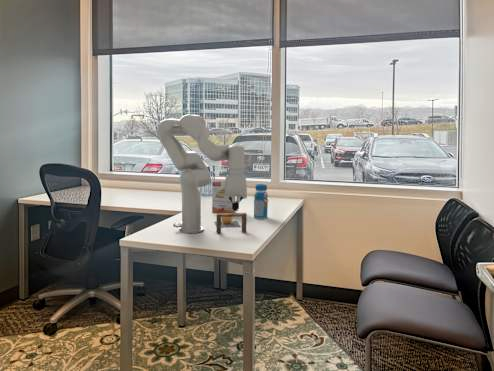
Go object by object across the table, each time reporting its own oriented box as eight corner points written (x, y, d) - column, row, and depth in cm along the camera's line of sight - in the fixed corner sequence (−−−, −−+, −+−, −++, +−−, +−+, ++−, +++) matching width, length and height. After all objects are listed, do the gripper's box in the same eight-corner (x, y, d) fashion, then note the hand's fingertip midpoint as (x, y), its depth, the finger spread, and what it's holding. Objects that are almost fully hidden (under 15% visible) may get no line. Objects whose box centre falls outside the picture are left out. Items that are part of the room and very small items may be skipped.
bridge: (217, 233, 195) (217, 214, 194) (216, 232, 198) (216, 213, 197) (246, 232, 198) (246, 214, 197) (245, 231, 201) (245, 212, 200)
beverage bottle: (255, 219, 227) (255, 185, 225) (252, 216, 236) (252, 183, 233) (269, 219, 229) (270, 185, 226) (265, 216, 237) (266, 183, 234)
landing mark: (216, 227, 207) (216, 227, 207) (214, 221, 220) (214, 221, 220) (240, 226, 210) (240, 226, 209) (236, 221, 222) (236, 221, 222)
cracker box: (211, 212, 244) (212, 179, 241) (214, 210, 250) (214, 178, 247) (233, 213, 242) (234, 180, 239) (235, 211, 248) (235, 179, 245)
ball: (221, 224, 218) (222, 223, 212) (220, 214, 219) (221, 212, 213) (231, 224, 219) (233, 222, 213) (230, 213, 220) (232, 211, 215)
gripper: (250, 171, 186) (249, 208, 189) (219, 171, 183) (218, 209, 186) (253, 173, 179) (252, 212, 181) (221, 173, 176) (220, 212, 179)
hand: (235, 210), depth 184 cm, fingers closed
